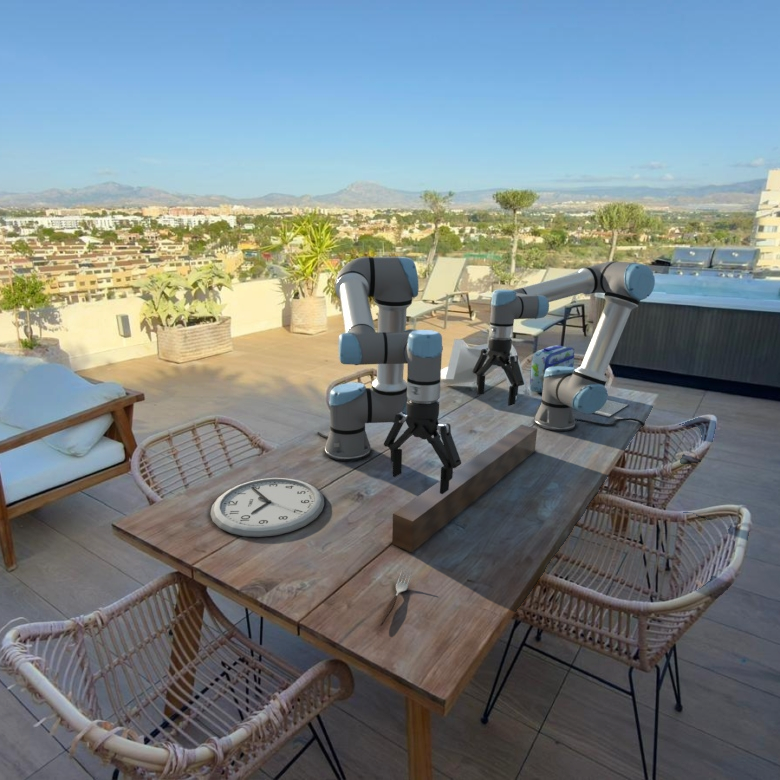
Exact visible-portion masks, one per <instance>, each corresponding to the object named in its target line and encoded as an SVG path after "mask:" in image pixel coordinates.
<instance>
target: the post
mask: <svg viewBox="0 0 780 780" xmlns="http://www.w3.org/2000/svg"><path fill="white" fill-rule="evenodd" d="M537 435H538V427H537V428H536V427H533V426H528V425H525V424H520V425H519V426H517V427H515V428H514V429H513V430H512V431H510V432H509V433H507V434H506V435H504V436H503V437H502V438H500V439H498V440H497V441H496V442H494V443H493V444H491V445H490V446H488V447H487V448H486V449H484V450H482V451H481V452H480V453H478V454H477V455H476V456H474V457H473V458H471V459H469V460H468V461H467V462H465V463H464V464H462V465H460V466H459V467H457V468H456V469H455V470H453V476H452V479H451V480H449V490H448V491H446V492H445V493H444V494H441V493H440V480H439V481H438V482H436V483H435V484H434V485H432V486H430V487H429V488H428V489H426V490H425V491H423V492H422V493H420V494H419V495H417V496H416V497H414V498H413V499H412V500H410V501H409V502H407V503H406V504H405V505H403V506H401V507H400V508H399V509H397V510H396V511H394V512H392V531H391V532H392V536H391V544H392V545H394V546H395V547H398V548H400V549H402V550H405V551H407V552H409V553H414V551H415V550H417V549H418V548H419V547H420V546H421V545H423V544H424V543H425V542H427V541H428V540H429V539H430V538H431V537H432V536H433V535H434V536H435V534H436V533H437V532H438V531H440V530H441V529H442V528H443V527H444V526H446V525H447V524H448V523H450V522H451V521H452V520H453V519H454V518H456V517H457V516H458V515H459V514H460V513H461V512H463V511H464V510H465V509H466V508H468V507H469V506H470V505H471V504H472V503H474V502H475V501H476V500H477V499H479V498H480V497H481V496H482V495H483V494H484V493H486V492H487V491H488V490H489V489H491V488H492V487H493V486H494V485H496V484H497V483H498V482H499V481H501V479H503V478H504V477H505V476H506V475H508V474H509V473H510V472H511V471H512V470H514V469H515V468H516V467H518V465H520V464H521V463H522V462H524V461H525V460H526V459H527V458H529V456H531V455H532V454H533V453H534V452H535V451H536V444H537Z"/></svg>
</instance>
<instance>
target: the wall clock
mask: <svg viewBox="0 0 780 780" xmlns="http://www.w3.org/2000/svg"><path fill="white" fill-rule="evenodd" d="M324 506H325V498H324V495H323V494H322V492H321V491H320V490H319V489H318V488H316V487H315V486H313V484H310V483H308V482H305V481H302V480H299V479H293V478H286V477H285V478H284V477H283V478H282V477H270V478H261V479H255V480H251V481H247V482H243V483H241V484H238V485H236V486H233V487H231V488H230V489H228V490H225V492H224V493H222V494H221V495H220V496H218V497H217V499H216V500H215V501H214V503H213V504H212V505H211V509H210V517H211V520H212V523H214V524H215V525H216V526H217V527H218V528H219V529H221V530H223V531H225V532H227V533H229V534H231V535H236V536H242V537H253V538H254V537H256V538H263V537H272V536H279V535H283V534H288V533H291V532H294V531H296V530H299V529H301V528H303V527H306V526H307V525H309V524H310V523H312V522H313V521H315V520H316V519H317V518H318V517H319V516H320V514H321V513H322V512H323V510H324Z"/></svg>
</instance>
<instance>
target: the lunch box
mask: <svg viewBox="0 0 780 780" xmlns="http://www.w3.org/2000/svg"><path fill="white" fill-rule="evenodd" d="M574 363H575V348H573V347H571V346H570V347H568V346H563V345H551V346H548V347H544V348H543V349H539V350H536V351H535V352H534V354H533V356H532V358H531V363H530V374H529V391H532V392H536V393H540V394H542V392H543V381H544V374H545V370H546V369H547V368H549V367H556V366H564V367H573V368H574Z"/></svg>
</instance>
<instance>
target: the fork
mask: <svg viewBox="0 0 780 780" xmlns="http://www.w3.org/2000/svg"><path fill="white" fill-rule="evenodd" d="M402 573H403V575H402ZM412 573H413V571H410V574H409V572H407V573H406V571H404V572H403V570H400V574H399V577H398V579H397V582H396V584H395V590H396V593H395V595H394V596H393V597H392V599H391V600H390V601H389V603H388V605H387V607H386V609H385V611H384V615H383V617H382V619H381V622H380V624H379V626H380V627H382V626H383V624H384V623H385V621H386V619H388V617H389V615H390V614H391V612H392V611H393V609H394V607H395V605H396V602H397V600H398V596H399V594H401V593H404V592H405V591H407V590H408V588H409V585H410V581H411V578H412ZM405 574H406V576H405ZM408 575H409V577H408ZM407 580H408V581H407Z"/></svg>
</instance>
